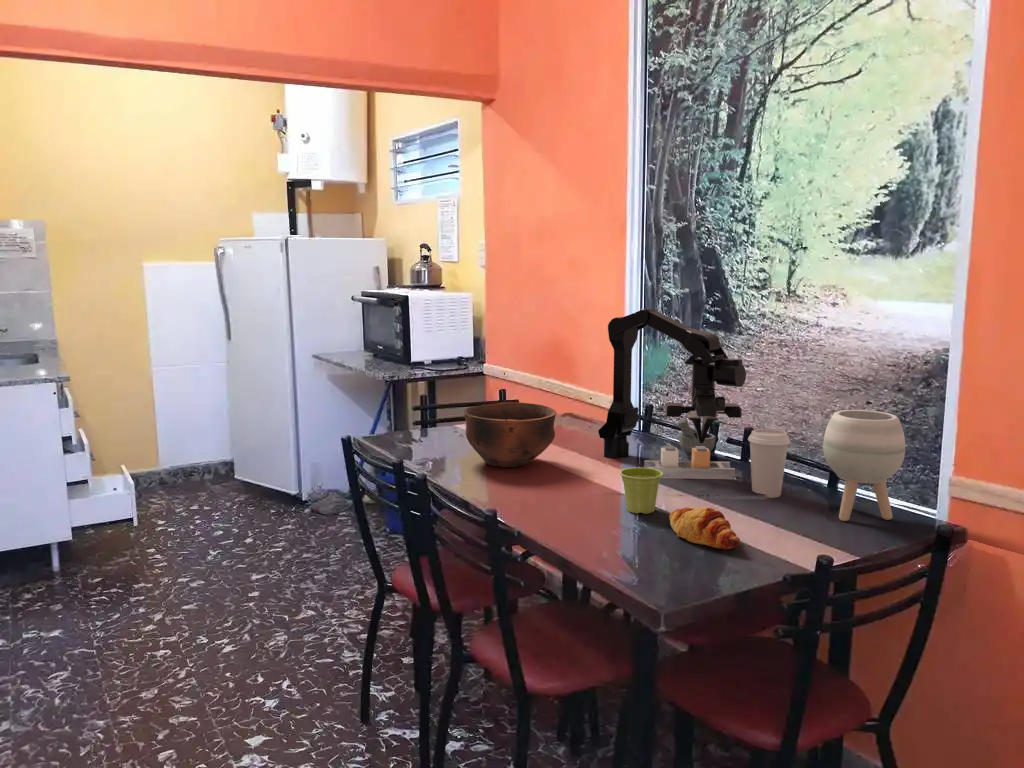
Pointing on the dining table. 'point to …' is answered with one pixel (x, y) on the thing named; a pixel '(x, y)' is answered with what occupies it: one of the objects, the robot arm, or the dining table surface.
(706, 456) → the block
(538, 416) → the bowl
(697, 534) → the croissant
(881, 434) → the planter
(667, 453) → the block
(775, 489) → the coffee cup
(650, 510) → the plant pot
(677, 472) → the grey tray
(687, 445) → the mortar and pestle
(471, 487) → the dining table surface
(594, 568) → the dining table surface
